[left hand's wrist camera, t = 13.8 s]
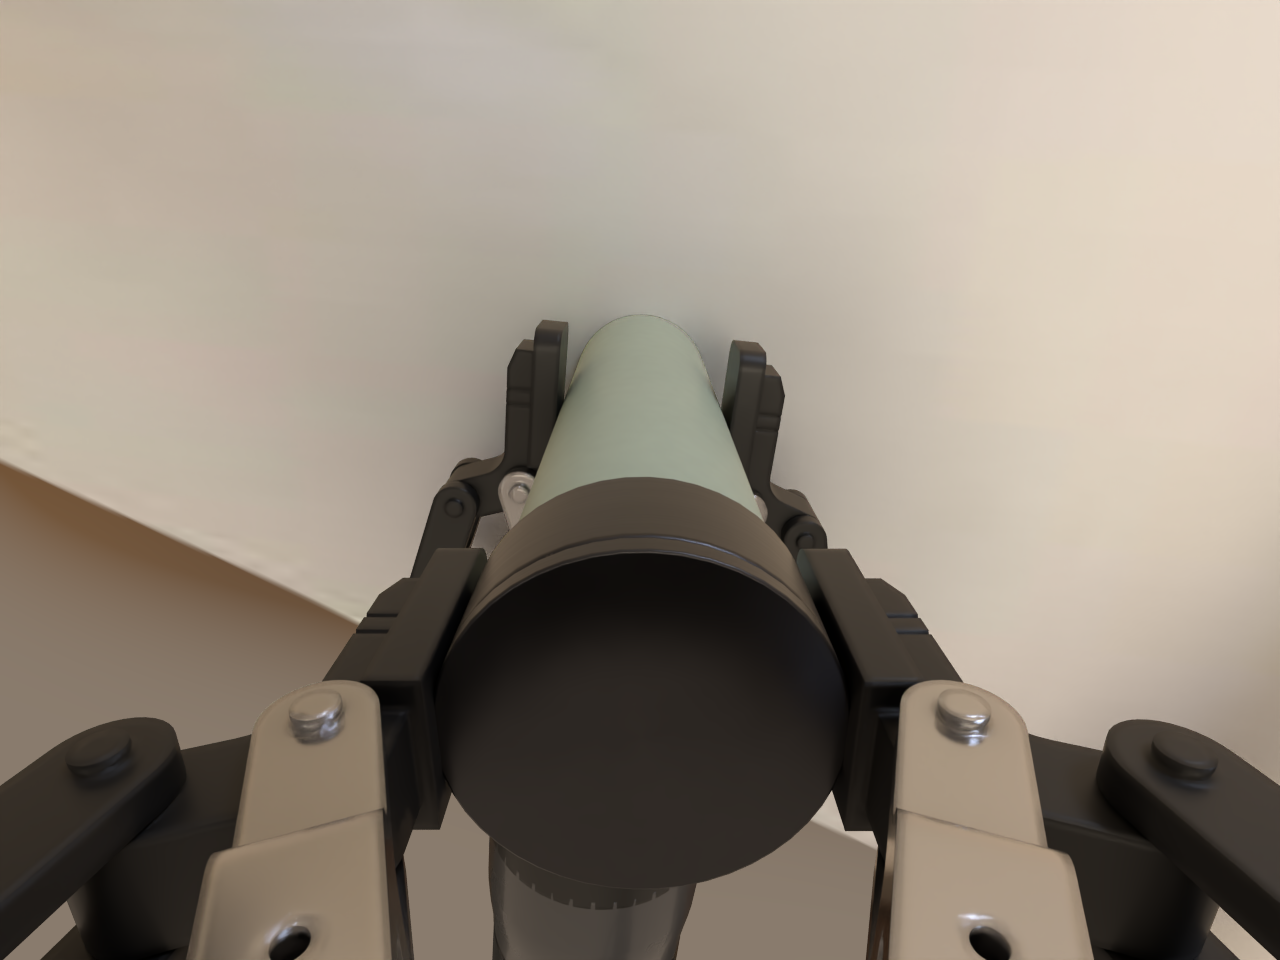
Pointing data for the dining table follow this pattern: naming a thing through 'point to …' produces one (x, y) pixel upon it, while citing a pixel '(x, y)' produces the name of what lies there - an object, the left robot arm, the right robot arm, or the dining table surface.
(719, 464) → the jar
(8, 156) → the dining table surface
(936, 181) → the dining table surface
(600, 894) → the right robot arm
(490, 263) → the dining table surface
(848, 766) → the left robot arm
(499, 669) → the lid
